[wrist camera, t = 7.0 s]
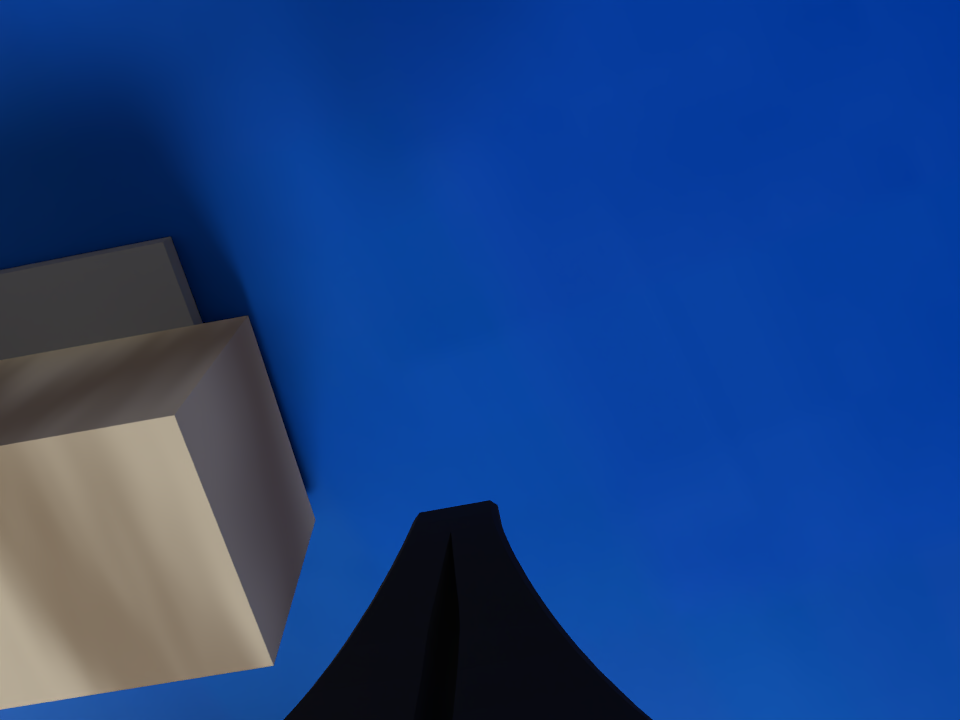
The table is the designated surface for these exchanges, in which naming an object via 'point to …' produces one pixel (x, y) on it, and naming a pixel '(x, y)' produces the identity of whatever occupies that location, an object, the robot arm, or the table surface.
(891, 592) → the table surface
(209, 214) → the table surface
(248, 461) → the maple block
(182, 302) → the mat
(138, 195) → the table surface
